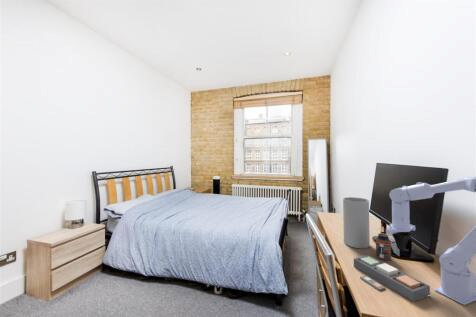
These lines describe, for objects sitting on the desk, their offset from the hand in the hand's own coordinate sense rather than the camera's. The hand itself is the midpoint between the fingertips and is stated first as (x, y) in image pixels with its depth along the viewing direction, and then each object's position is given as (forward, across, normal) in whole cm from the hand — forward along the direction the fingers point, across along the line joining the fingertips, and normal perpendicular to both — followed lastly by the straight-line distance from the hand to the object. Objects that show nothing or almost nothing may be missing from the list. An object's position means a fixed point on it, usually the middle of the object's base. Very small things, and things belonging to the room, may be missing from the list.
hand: (401, 249), depth 84 cm
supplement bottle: (+11, -6, -12) cm, 17 cm away
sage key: (+9, +9, -7) cm, 15 cm away
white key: (+9, +9, +1) cm, 12 cm away
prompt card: (+10, +17, 0) cm, 20 cm away
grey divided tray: (+10, +9, 0) cm, 14 cm away
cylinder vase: (+11, -7, -28) cm, 31 cm away
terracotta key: (+9, +9, +8) cm, 15 cm away
